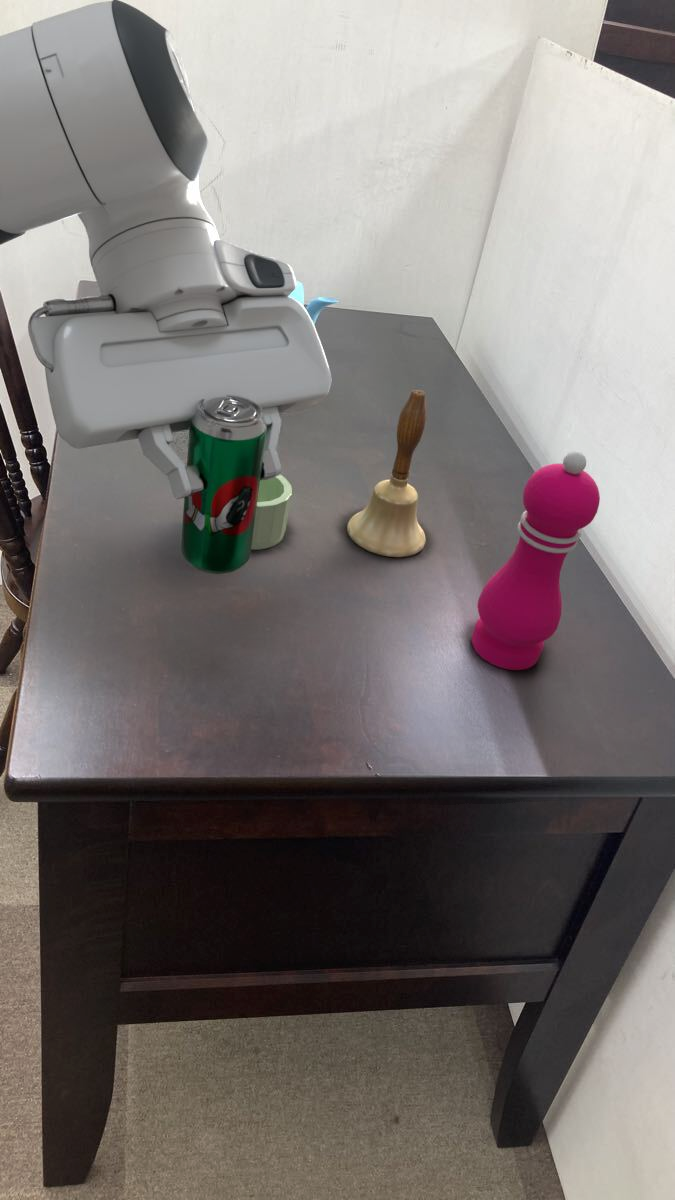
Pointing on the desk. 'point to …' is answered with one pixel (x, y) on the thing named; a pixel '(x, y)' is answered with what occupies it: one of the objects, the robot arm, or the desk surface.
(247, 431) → the soda can
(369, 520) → the hand bell
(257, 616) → the desk surface
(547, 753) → the desk surface
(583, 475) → the pepper mill
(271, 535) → the socket
